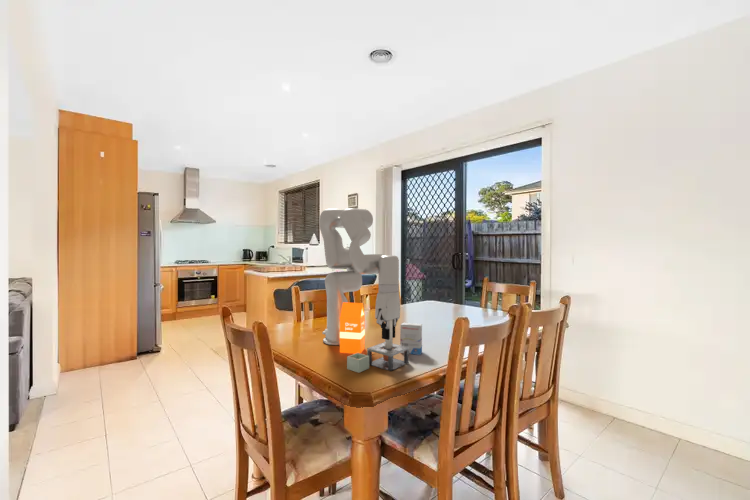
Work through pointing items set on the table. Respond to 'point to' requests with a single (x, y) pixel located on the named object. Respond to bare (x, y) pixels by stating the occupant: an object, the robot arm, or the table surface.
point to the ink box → (411, 337)
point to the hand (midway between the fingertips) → (388, 337)
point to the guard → (391, 362)
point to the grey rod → (390, 342)
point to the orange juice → (352, 328)
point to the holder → (358, 362)
